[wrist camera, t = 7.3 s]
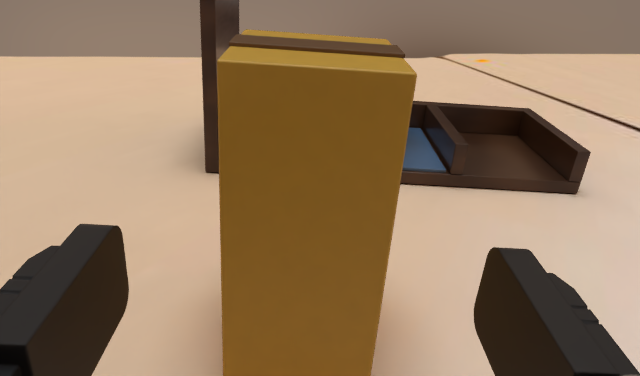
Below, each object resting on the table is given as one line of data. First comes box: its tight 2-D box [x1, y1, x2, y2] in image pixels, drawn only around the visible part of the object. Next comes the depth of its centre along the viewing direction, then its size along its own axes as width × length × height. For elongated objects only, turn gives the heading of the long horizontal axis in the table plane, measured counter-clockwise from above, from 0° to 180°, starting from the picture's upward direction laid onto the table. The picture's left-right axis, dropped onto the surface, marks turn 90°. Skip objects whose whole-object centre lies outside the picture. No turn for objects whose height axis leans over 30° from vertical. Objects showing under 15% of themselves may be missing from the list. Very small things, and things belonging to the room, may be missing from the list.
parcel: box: [217, 29, 417, 376], centre depth 16 cm, size 5×5×10 cm
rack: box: [200, 0, 590, 193], centre depth 32 cm, size 23×9×10 cm, turn 91°
